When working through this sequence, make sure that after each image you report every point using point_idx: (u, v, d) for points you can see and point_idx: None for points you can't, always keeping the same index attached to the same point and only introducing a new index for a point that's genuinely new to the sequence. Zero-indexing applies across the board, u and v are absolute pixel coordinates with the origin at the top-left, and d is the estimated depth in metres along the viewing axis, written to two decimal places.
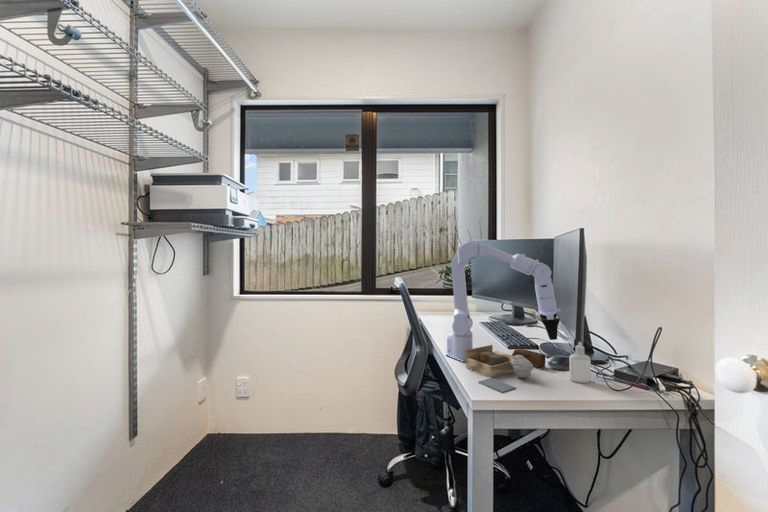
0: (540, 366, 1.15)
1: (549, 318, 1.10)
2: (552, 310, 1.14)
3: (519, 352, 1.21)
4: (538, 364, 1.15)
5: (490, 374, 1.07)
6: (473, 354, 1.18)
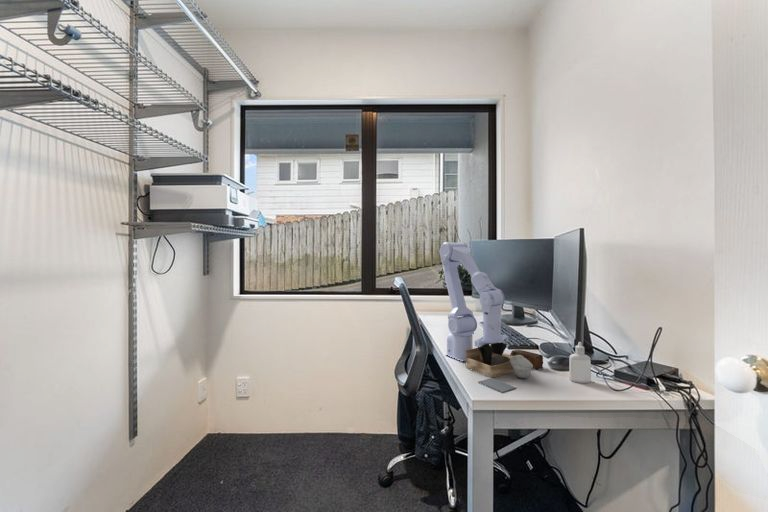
0: (538, 367, 1.14)
1: (476, 345, 1.11)
2: (489, 339, 1.12)
3: (517, 353, 1.20)
4: (535, 365, 1.14)
5: (490, 374, 1.07)
6: (473, 354, 1.18)
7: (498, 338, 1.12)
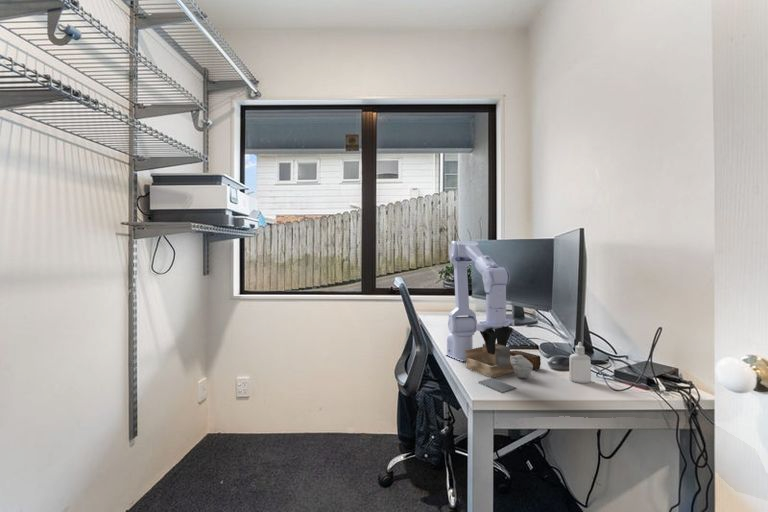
0: (535, 368, 1.13)
1: (478, 329, 0.99)
2: (493, 322, 1.00)
3: (514, 353, 1.19)
4: (533, 366, 1.13)
5: (490, 374, 1.07)
6: (473, 354, 1.18)
7: (503, 321, 1.00)
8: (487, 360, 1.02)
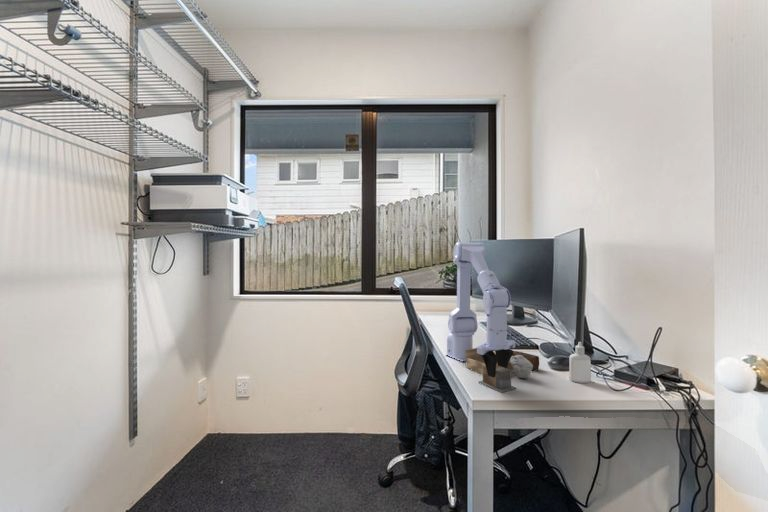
0: (534, 368, 1.13)
1: (478, 352, 0.97)
2: (494, 345, 0.98)
3: (513, 354, 1.18)
4: None
5: None
6: (473, 354, 1.18)
7: (504, 344, 0.98)
8: (487, 382, 1.01)
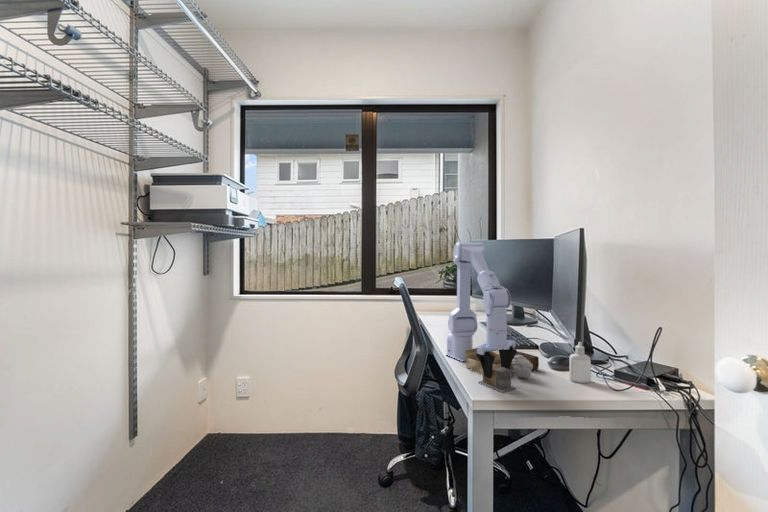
0: (533, 369, 1.12)
1: (478, 352, 0.97)
2: (494, 345, 0.98)
3: None
4: None
5: None
6: (473, 354, 1.18)
7: (504, 344, 0.98)
8: (487, 382, 1.01)
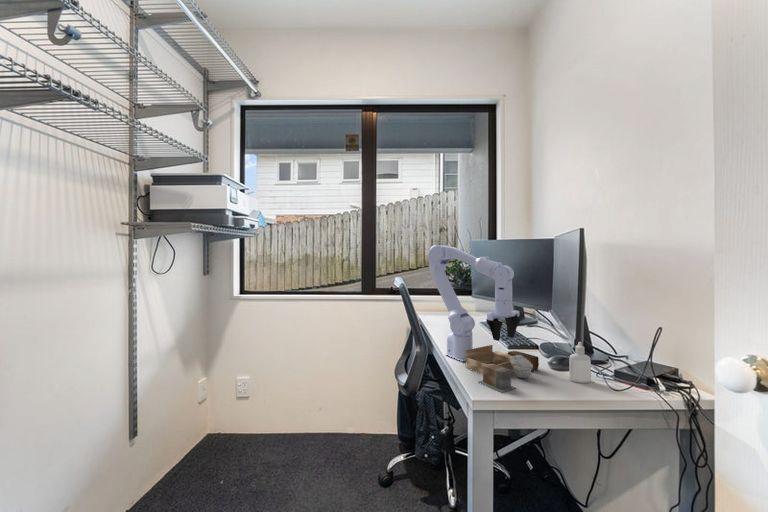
0: (532, 369, 1.12)
1: (488, 318, 1.15)
2: (501, 313, 1.16)
3: (512, 354, 1.18)
4: None
5: None
6: (473, 354, 1.18)
7: (510, 312, 1.16)
8: (487, 382, 1.01)
